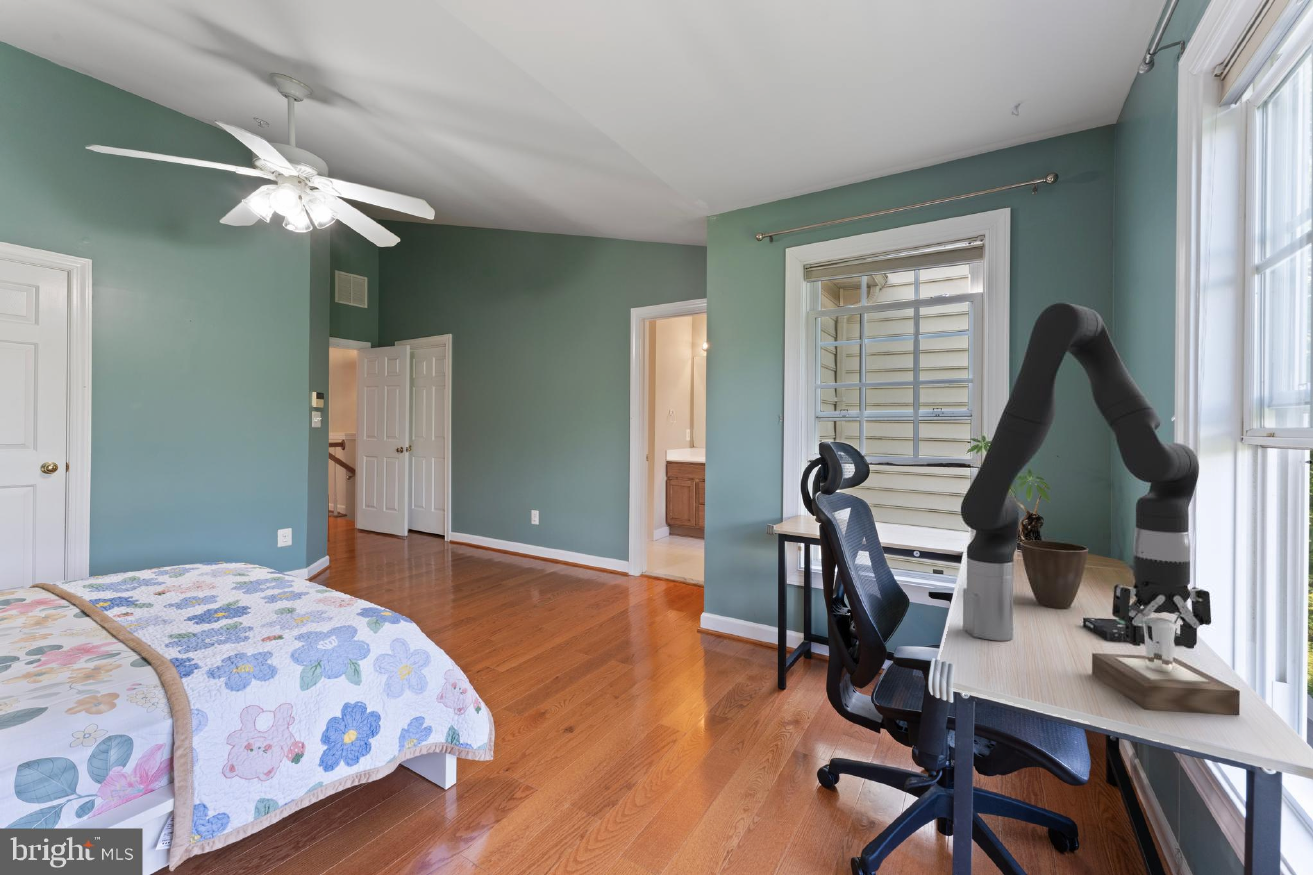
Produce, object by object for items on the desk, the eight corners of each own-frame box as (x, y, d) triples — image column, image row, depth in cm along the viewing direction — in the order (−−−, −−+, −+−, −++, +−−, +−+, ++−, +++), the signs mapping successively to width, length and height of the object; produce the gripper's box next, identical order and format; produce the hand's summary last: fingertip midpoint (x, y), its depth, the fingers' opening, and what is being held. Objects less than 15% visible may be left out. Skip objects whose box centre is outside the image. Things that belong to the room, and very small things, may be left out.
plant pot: (1006, 599, 156) (1007, 541, 156) (1046, 594, 161) (1047, 538, 160) (1059, 615, 142) (1060, 552, 142) (1102, 610, 146) (1102, 549, 146)
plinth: (1145, 709, 94) (1145, 683, 94) (1092, 673, 108) (1092, 651, 108) (1239, 714, 92) (1239, 688, 92) (1173, 677, 106) (1173, 655, 106)
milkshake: (1188, 675, 97) (1189, 618, 97) (1152, 672, 98) (1153, 616, 98) (1170, 664, 102) (1171, 609, 102) (1136, 662, 103) (1136, 607, 103)
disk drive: (1108, 644, 125) (1185, 648, 122) (1108, 632, 124) (1185, 635, 122) (1081, 628, 135) (1152, 631, 132) (1081, 616, 135) (1152, 619, 132)
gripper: (1131, 558, 97) (1131, 651, 97) (1224, 561, 95) (1223, 656, 95) (1103, 549, 105) (1102, 636, 105) (1189, 551, 103) (1188, 640, 103)
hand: (1160, 645), depth 100 cm, fingers open, 8 cm apart
